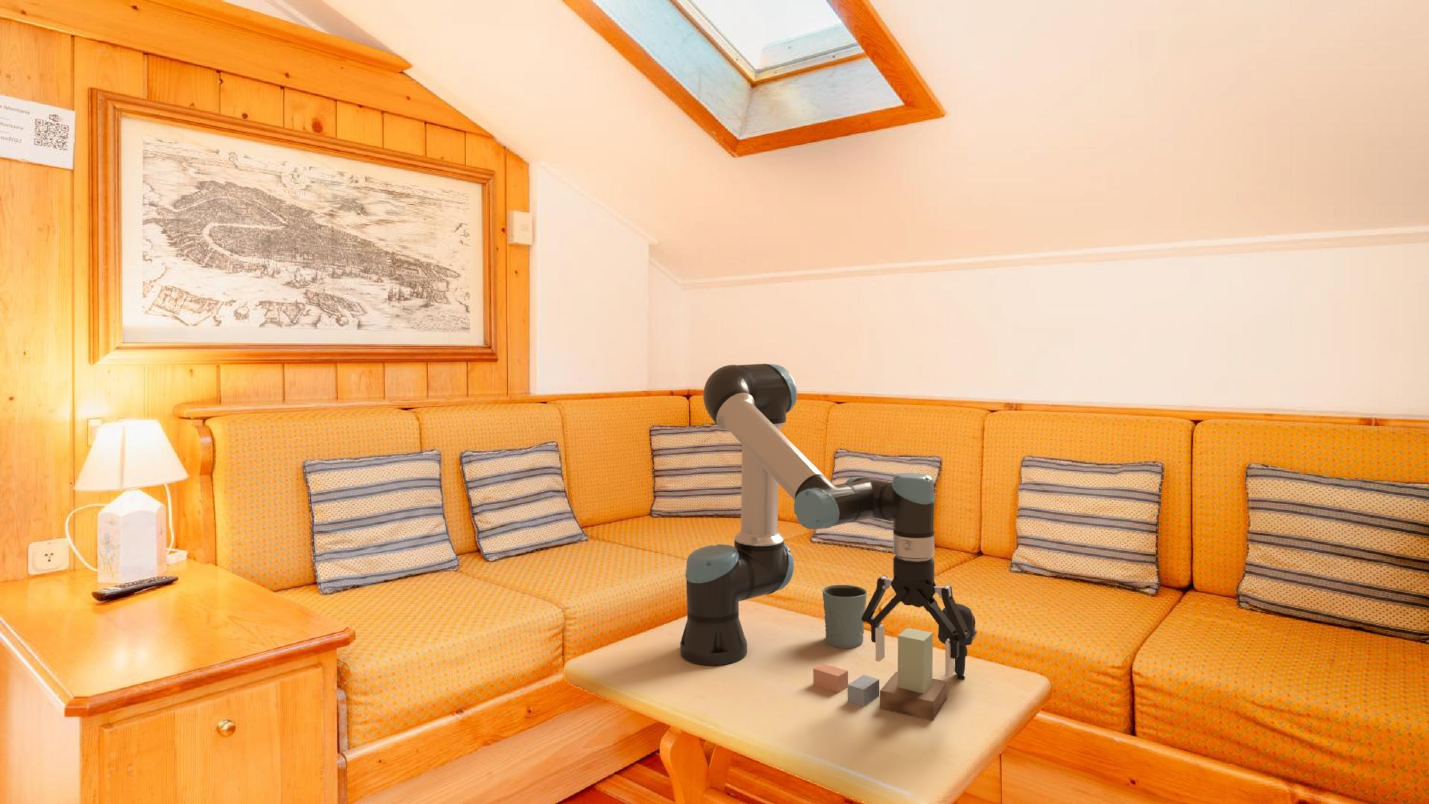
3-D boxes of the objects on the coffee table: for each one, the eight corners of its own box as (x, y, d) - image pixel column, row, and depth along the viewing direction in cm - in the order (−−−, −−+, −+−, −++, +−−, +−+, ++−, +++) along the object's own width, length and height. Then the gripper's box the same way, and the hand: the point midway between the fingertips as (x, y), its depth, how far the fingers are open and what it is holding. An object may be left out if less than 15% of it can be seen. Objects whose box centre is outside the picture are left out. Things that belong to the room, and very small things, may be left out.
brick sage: (897, 687, 147) (897, 635, 147) (907, 678, 152) (907, 627, 151) (923, 693, 145) (923, 640, 144) (932, 684, 149) (932, 632, 148)
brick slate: (863, 707, 148) (863, 689, 147) (847, 702, 150) (847, 684, 150) (879, 696, 152) (879, 679, 152) (863, 692, 154) (863, 674, 154)
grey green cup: (816, 644, 180) (815, 593, 179) (833, 630, 188) (832, 581, 188) (857, 652, 175) (857, 599, 174) (873, 638, 183) (873, 587, 182)
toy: (980, 686, 155) (980, 612, 155) (939, 684, 157) (939, 611, 156) (974, 668, 164) (974, 598, 163) (936, 666, 166) (935, 597, 165)
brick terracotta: (813, 685, 158) (813, 668, 158) (823, 679, 161) (823, 663, 160) (838, 693, 154) (838, 676, 154) (848, 687, 156) (848, 670, 156)
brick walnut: (880, 711, 147) (879, 690, 146) (896, 691, 155) (896, 671, 155) (933, 723, 142) (933, 701, 141) (947, 701, 150) (947, 681, 150)
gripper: (844, 552, 151) (845, 659, 152) (975, 570, 137) (974, 688, 138) (860, 544, 157) (860, 647, 158) (986, 560, 143) (986, 673, 144)
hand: (914, 666), depth 148 cm, fingers open, 13 cm apart
